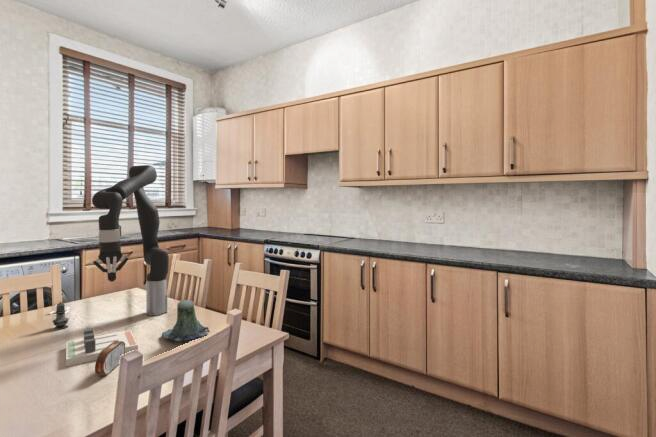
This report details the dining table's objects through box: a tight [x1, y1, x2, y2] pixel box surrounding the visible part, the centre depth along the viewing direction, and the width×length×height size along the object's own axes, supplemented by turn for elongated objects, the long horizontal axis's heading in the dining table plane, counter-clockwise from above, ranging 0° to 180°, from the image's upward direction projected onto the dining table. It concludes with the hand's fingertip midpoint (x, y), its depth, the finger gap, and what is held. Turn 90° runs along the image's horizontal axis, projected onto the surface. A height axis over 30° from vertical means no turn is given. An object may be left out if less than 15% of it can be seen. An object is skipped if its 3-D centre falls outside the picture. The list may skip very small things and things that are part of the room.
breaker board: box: [65, 329, 139, 367], centre depth 133 cm, size 22×18×3 cm
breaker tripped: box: [83, 332, 95, 347], centre depth 131 cm, size 3×2×4 cm
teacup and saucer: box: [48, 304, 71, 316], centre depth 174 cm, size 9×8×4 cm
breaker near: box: [85, 338, 95, 353], centre depth 126 cm, size 3×2×4 cm
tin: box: [94, 341, 126, 376], centre depth 119 cm, size 15×3×8 cm, turn 5°
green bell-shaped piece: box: [161, 299, 210, 345], centre depth 147 cm, size 19×21×19 cm
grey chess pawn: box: [52, 301, 70, 331], centre depth 154 cm, size 6×6×12 cm
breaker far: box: [83, 327, 94, 336], centre depth 136 cm, size 3×2×4 cm
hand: (111, 281), depth 144 cm, fingers closed
